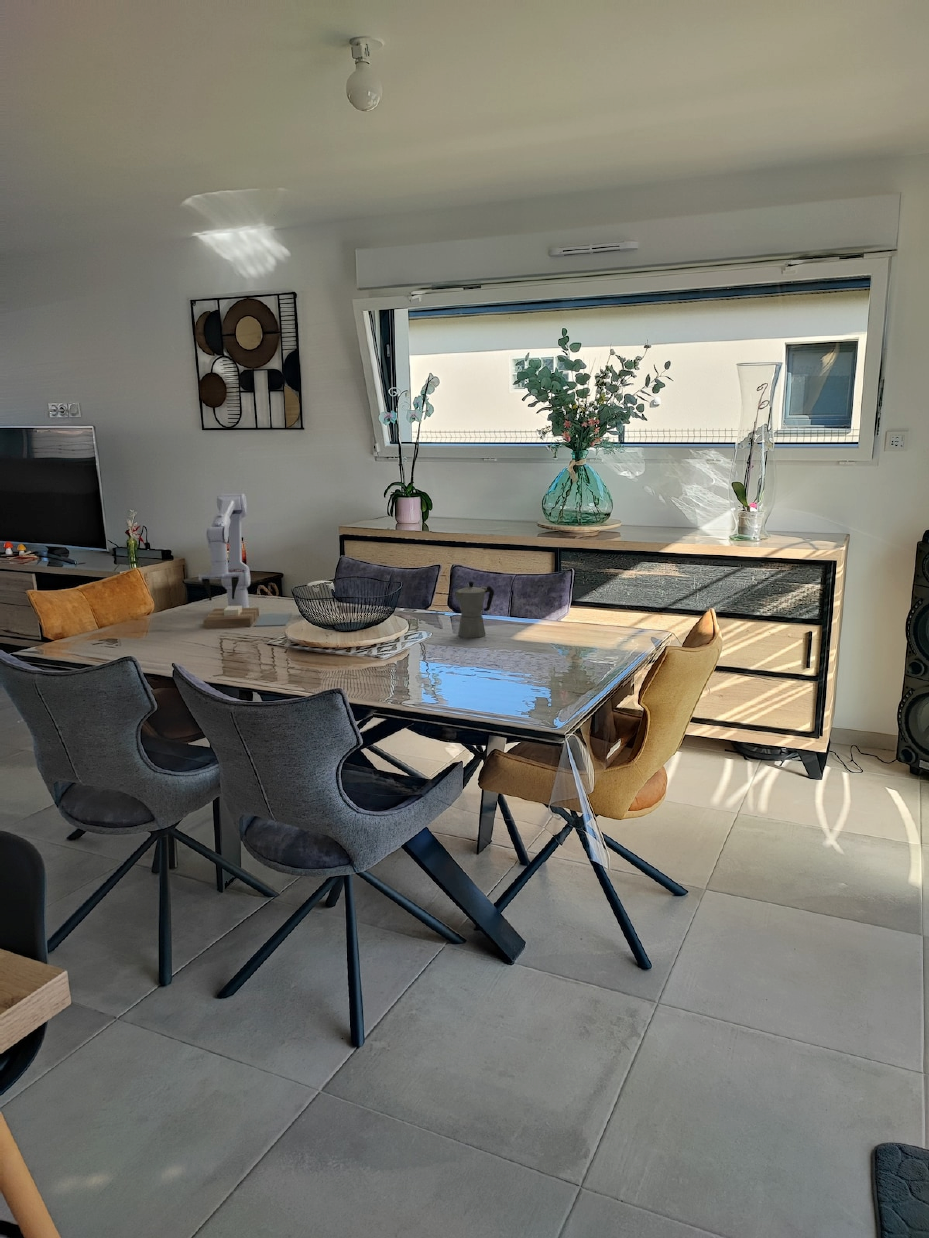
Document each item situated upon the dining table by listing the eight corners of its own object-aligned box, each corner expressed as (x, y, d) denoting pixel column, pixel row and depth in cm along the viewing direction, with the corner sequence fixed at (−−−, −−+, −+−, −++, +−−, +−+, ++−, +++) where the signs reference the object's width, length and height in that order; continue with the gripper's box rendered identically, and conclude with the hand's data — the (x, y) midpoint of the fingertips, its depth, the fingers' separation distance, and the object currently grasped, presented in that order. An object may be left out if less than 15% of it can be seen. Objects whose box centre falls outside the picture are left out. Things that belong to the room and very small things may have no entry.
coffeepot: (462, 640, 282) (461, 585, 278) (447, 634, 290) (446, 581, 286) (501, 634, 290) (501, 580, 286) (486, 628, 298) (486, 576, 294)
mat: (261, 615, 324) (261, 614, 323) (291, 614, 324) (291, 613, 324) (253, 626, 306) (253, 625, 306) (285, 625, 307) (285, 624, 307)
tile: (228, 611, 317) (227, 606, 316) (242, 611, 317) (241, 605, 317) (224, 615, 310) (223, 610, 310) (238, 615, 310) (238, 609, 310)
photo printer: (334, 611, 329) (332, 578, 326) (336, 613, 325) (334, 580, 322) (306, 613, 325) (305, 580, 322) (308, 615, 321) (306, 582, 318)
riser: (215, 616, 323) (214, 608, 322) (259, 615, 324) (258, 607, 323) (204, 628, 305) (203, 619, 304) (250, 626, 306) (250, 618, 305)
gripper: (197, 563, 299) (200, 602, 301) (241, 561, 303) (243, 599, 305) (197, 561, 306) (200, 599, 308) (240, 559, 309) (242, 597, 312)
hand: (221, 599), depth 307 cm, fingers open, 7 cm apart
